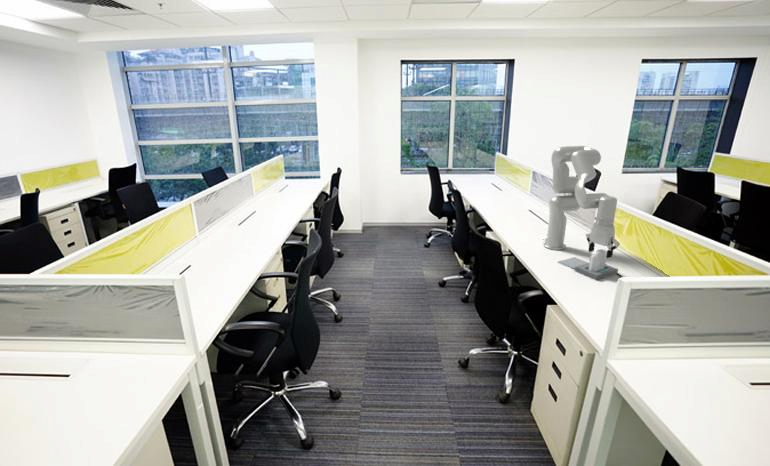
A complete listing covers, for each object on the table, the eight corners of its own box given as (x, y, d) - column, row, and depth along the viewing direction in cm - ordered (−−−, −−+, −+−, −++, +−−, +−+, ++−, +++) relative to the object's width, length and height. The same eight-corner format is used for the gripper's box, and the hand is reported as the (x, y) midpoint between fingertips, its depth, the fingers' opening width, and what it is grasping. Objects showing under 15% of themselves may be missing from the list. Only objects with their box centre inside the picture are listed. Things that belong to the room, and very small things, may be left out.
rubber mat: (557, 262, 199) (557, 261, 199) (574, 257, 204) (574, 257, 204) (573, 269, 191) (573, 268, 190) (590, 264, 195) (590, 263, 195)
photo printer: (596, 268, 190) (600, 246, 186) (605, 271, 187) (609, 248, 183) (586, 273, 185) (589, 251, 181) (594, 276, 182) (598, 253, 178)
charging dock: (574, 271, 188) (575, 266, 187) (595, 265, 194) (596, 260, 193) (595, 280, 178) (596, 274, 177) (617, 273, 184) (618, 268, 183)
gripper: (583, 218, 183) (579, 250, 188) (616, 227, 168) (611, 261, 173) (593, 216, 186) (589, 247, 191) (627, 224, 171) (621, 258, 176)
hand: (599, 254), depth 182 cm, fingers open, 9 cm apart
